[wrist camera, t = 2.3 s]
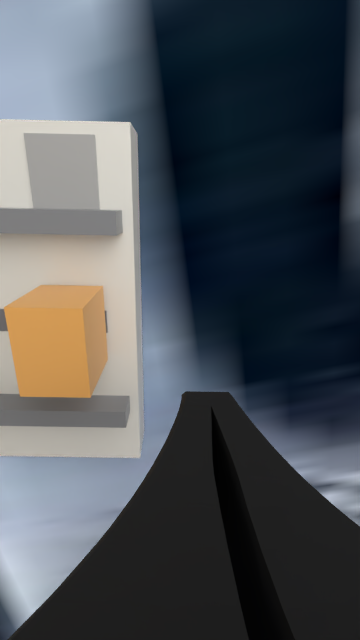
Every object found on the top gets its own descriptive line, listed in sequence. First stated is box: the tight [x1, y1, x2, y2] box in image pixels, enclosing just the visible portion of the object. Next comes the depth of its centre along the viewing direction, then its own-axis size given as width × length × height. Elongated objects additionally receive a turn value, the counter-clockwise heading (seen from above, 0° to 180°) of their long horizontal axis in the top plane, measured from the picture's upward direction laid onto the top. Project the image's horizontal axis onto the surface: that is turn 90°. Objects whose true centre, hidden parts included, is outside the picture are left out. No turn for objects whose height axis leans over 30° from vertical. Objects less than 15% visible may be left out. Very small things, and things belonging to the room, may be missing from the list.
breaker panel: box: [0, 119, 144, 458], centre depth 17 cm, size 18×14×4 cm
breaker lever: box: [4, 285, 108, 398], centre depth 15 cm, size 4×3×4 cm
